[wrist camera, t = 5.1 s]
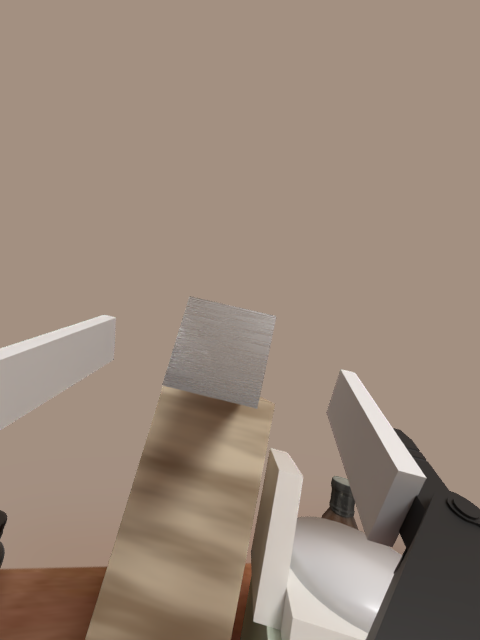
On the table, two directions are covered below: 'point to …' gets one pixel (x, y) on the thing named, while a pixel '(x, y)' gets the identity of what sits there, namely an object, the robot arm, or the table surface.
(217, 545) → the birch stand
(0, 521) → the supplement bottle
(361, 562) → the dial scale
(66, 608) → the table surface
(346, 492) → the sauce bottle
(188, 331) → the bar
